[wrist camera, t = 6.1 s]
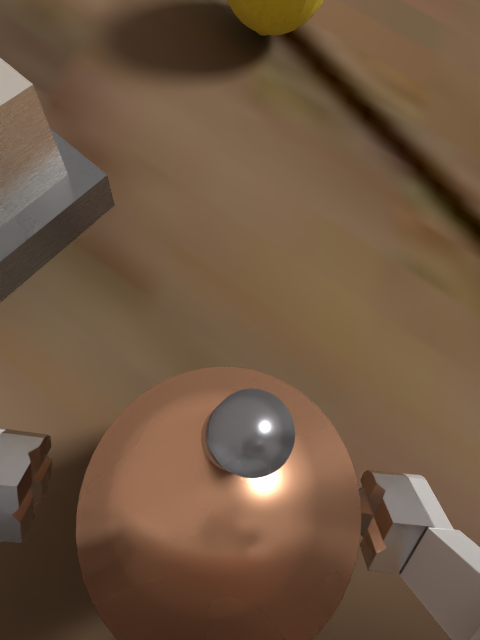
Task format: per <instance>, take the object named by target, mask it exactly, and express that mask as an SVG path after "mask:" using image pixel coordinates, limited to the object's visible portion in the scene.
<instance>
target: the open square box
mask: <svg viewBox="0 0 480 640" xmlns="http://www.w3.org/2000/svg"><path fill="white" fill-rule="evenodd" d="M112 206H114V201H113V197H112V193H111V189H110V185H109V181H108V177H107V175H106V174H105V173H104V172H103V171H102V170H100V169H99V168H98V167H97V166H95V165H94V164H93V163H92V162H91V161H89V160H88V159H87V158H86V157H84V156H83V155H82V154H81V153H80V152H78V151H77V150H76V149H75V148H74V147H72V146H71V145H70V144H69V143H67V142H66V141H65V140H64V139H63V138H61V137H60V136H59V135H58V134H56V133H55V132H54V131H53V130H52V129H50V127H49V125H48V122H47V119H46V117H45V114H44V112H43V109H42V107H41V104H40V101H39V99H38V96H37V94H36V91H35V89H34V86H33V84H32V83H30V82H29V81H28V80H27V79H26V78H24V77H23V76H22V75H21V74H19V73H18V72H17V71H16V70H14V69H13V68H12V67H11V66H10V65H8V64H7V63H6V62H5V61H3V60H2V59H1V58H0V302H1V301H2V300H3V299H4V298H6V297H7V296H8V295H9V294H10V293H11V292H13V291H14V290H15V289H16V288H17V287H18V286H20V285H21V284H22V283H23V282H24V281H26V280H27V279H28V278H29V277H30V276H31V275H33V274H34V273H35V272H36V271H37V270H38V269H40V268H41V267H42V266H43V265H44V264H45V263H47V262H48V261H49V260H50V259H51V258H53V257H54V256H55V255H56V254H57V253H58V252H60V251H61V250H62V249H63V248H64V247H65V246H67V245H68V244H69V243H70V242H71V241H72V240H74V239H75V238H76V237H77V236H78V235H80V234H81V233H82V232H83V231H84V230H85V229H87V228H88V227H89V226H90V225H91V224H92V223H94V222H95V221H96V220H97V219H98V218H99V217H101V216H102V215H103V214H104V213H105V212H107V211H108V210H109V209H110V208H111V207H112Z"/></svg>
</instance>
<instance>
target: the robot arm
mask: <svg viewBox="0 0 480 640" xmlns="http://www.w3.org/2000/svg"><path fill="white" fill-rule="evenodd" d="M50 448H51V438H50V436H49V435H45V434H38V433H30V432H23V431H15V430H8V429H6V430H5V429H0V541H5V542H22V541H23V539H24V537H25V535H26V532H27V530H28V528H29V526H30V524H31V522H32V520H33V518H34V505H35V504H37V503H38V502H40V501H41V500H42V499H43V497H44V494H45V492H46V490H47V487H48V484H49V480H50V477H51V469H52V460H51V459H50V458H49V457H48V456H47V454H48V452H49V450H50ZM361 483H362V486H363V487H362V488H360V489H359V495H360V503H361V533H360V535H361V536H362V537H363V539H362V541H361V544H360V547H361V550H362V553H363V557H364V560H365V563H366V566H367V569H368V571H375V572H384V573H393V574H401V575H400V577H401V578H402V579H403V581H404V582H405V583H406V584H407V586H408V587H409V588H410V589H411V591H412V592H413V593H414V594H415V595H416V597H417V598H418V599H419V600H420V602H421V603H422V604H423V605H424V607H425V608H426V609H427V610H428V612H429V613H430V614H431V615H432V616H433V618H434V619H435V620H436V621H437V623H438V624H439V625H440V626H441V628H442V629H443V630H444V631H445V633H446V634H447V635H448V636H449V637H450V639H451V640H480V547H479V546H477V545H476V544H475V543H474V542H473V541H471V540H470V539H469V538H468V537H467V536H466V535H464V534H463V533H462V532H461V531H460V530H454V529H453V527H452V526H451V524H450V522H449V520H448V518H447V517H446V515H445V513H444V511H443V509H442V508H441V506H440V504H439V502H438V501H437V499H436V497H435V495H434V493H433V492H432V490H431V488H430V486H429V484H428V483H427V481H426V479H425V478H424V477H423V476H421V475H413V474H401V473H393V472H383V471H373V470H367V471H366V472H364V473H363V475H362V478H361Z"/></svg>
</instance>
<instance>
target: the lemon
mask: <svg viewBox="0 0 480 640" xmlns="http://www.w3.org/2000/svg"><path fill="white" fill-rule="evenodd" d="M323 1H324V0H227V2H228V4H229V6H230V8H231V9H232V11H233V13H234V14H235V15H236V16H237V17H238V19H239V20H240V21H241V22H242V23H243V24H244V25H246V26H247V27H249V28H250V29H252V30H254V31H256V32H257V33H258V34H259V35H261V36H266V35H281V34H285V33H288V32H291V31H293V30H295V29H297V28H298V27H300V26H301V25H303V24H304V23H305V22H307V21H308V20H309V19H310V18H311V17H312V16H313V15H314V13H315V12H316V11H317V9H318V8H319V7H320V5H321V4H322V2H323Z"/></svg>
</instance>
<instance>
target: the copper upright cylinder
mask: <svg viewBox="0 0 480 640" xmlns="http://www.w3.org/2000/svg"><path fill="white" fill-rule="evenodd" d="M360 533H361V503H360V495H359V489H358V483H357V479H356V475H355V472H354V468H353V465H352V462H351V460H350V457H349V455H348V452H347V450H346V447H345V445H344V444H343V442H342V440H341V438H340V436H339V434H338V433H337V431H336V430H335V428H334V427H333V425H332V424H331V423H330V421H329V420H328V418H327V417H326V416H325V415H324V414H323V413H322V411H321V410H320V409H319V408H318V407H317V406H316V405H315V404H314V403H313V402H312V401H311V400H309V399H308V398H307V397H306V396H305V395H304V394H302V393H301V392H300V391H298V390H297V389H295V388H294V387H292V386H291V385H289V384H287V383H285V382H283V381H281V380H279V379H277V378H275V377H273V376H270V375H268V374H265V373H262V372H259V371H255V370H250V369H245V368H239V367H225V366H224V367H207V368H202V369H197V370H192V371H188V372H185V373H182V374H179V375H176V376H173V377H171V378H169V379H167V380H165V381H163V382H161V383H159V384H157V385H155V386H154V387H152V388H151V389H149V390H148V391H146V392H144V393H143V394H142V395H140V396H139V397H138V398H137V399H136V400H134V401H133V402H132V403H131V404H130V405H128V406H127V407H126V409H125V410H124V411H123V412H122V413H121V414H120V415H119V416H118V417H117V418H116V419H115V420H114V422H113V423H112V424H111V426H110V427H109V429H108V430H107V431H106V433H105V434H104V435H103V437H102V439H101V441H100V442H99V444H98V446H97V448H96V450H95V451H94V453H93V455H92V458H91V460H90V463H89V465H88V467H87V470H86V472H85V476H84V479H83V483H82V487H81V490H80V494H79V501H78V508H77V514H76V542H77V552H78V560H79V564H80V568H81V572H82V577H83V580H84V583H85V586H86V588H87V591H88V593H89V596H90V599H91V601H92V603H93V605H94V606H95V608H96V610H97V612H98V614H99V615H100V617H101V619H102V620H103V622H104V623H105V624H106V626H107V627H108V628H109V630H110V631H111V632H112V634H113V635H114V636H115V637H116V638H117V639H118V640H312V639H313V638H314V637H315V636H316V635H317V634H318V633H319V632H320V631H321V629H322V628H323V627H324V625H325V624H326V623H327V622H328V620H329V619H330V618H331V616H332V615H333V613H334V611H335V610H336V608H337V606H338V605H339V603H340V601H341V600H342V598H343V595H344V593H345V591H346V589H347V586H348V584H349V582H350V579H351V576H352V573H353V570H354V566H355V563H356V559H357V554H358V548H359V543H360Z"/></svg>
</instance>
